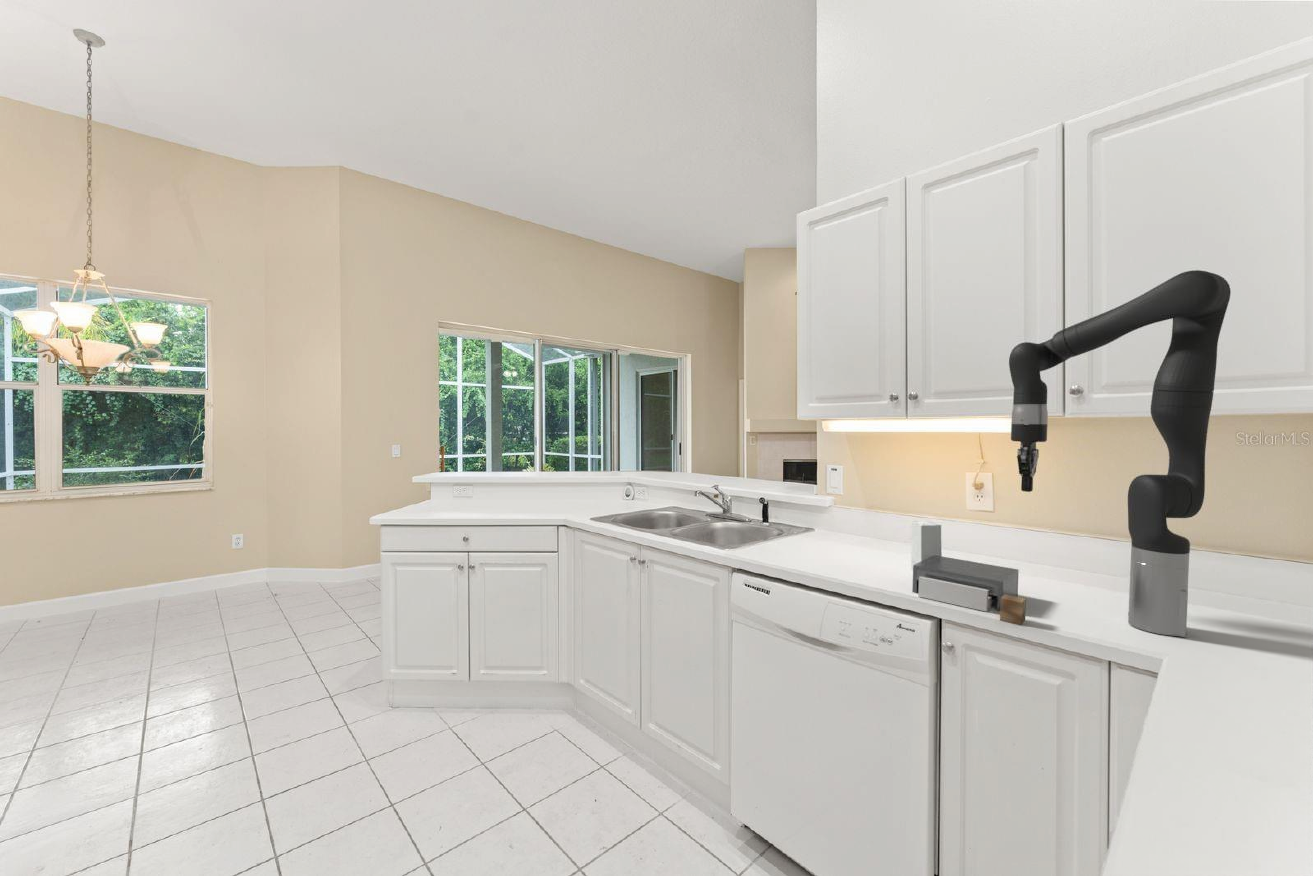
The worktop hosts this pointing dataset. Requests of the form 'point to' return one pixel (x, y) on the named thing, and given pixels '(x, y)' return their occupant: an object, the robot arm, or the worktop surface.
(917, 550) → the skincare box
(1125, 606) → the worktop surface
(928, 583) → the tray
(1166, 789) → the worktop surface
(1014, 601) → the wooden block
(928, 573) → the housing
